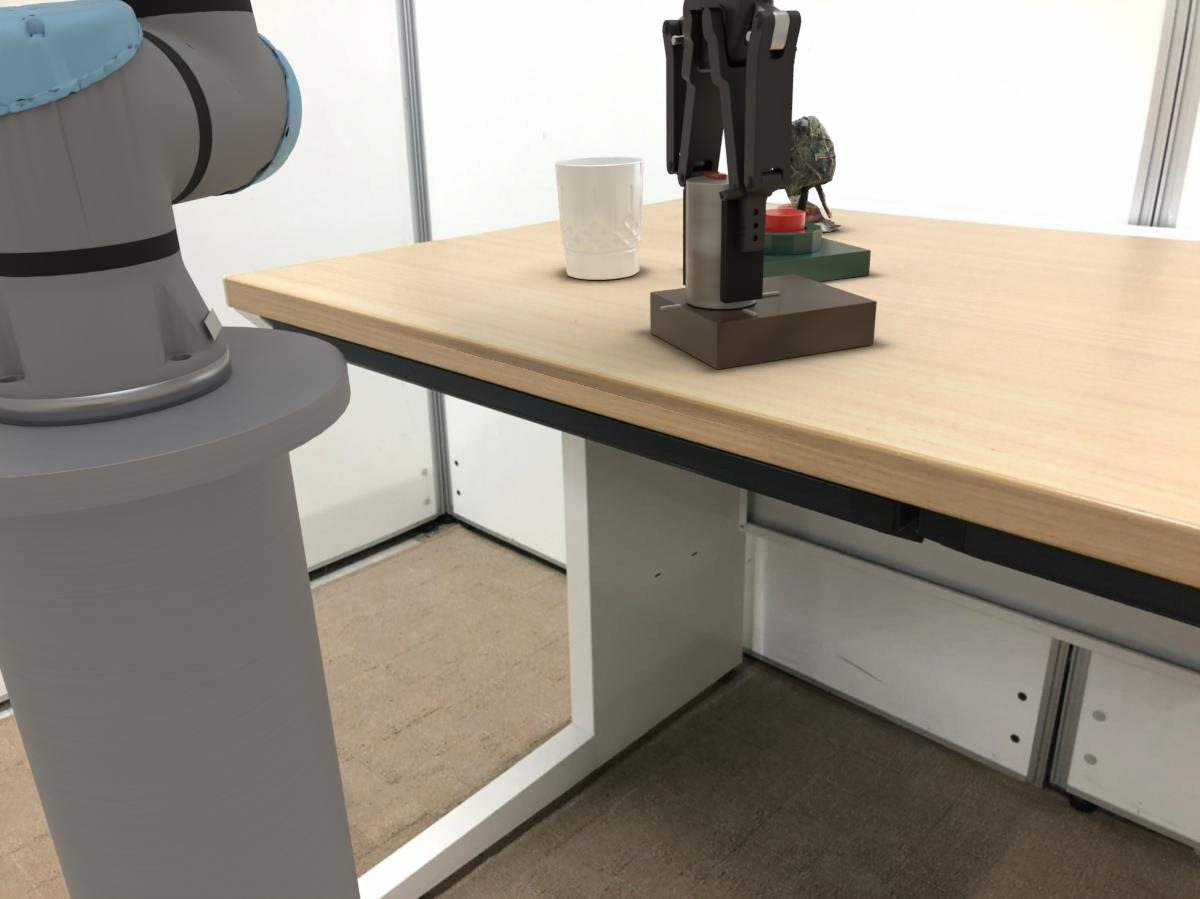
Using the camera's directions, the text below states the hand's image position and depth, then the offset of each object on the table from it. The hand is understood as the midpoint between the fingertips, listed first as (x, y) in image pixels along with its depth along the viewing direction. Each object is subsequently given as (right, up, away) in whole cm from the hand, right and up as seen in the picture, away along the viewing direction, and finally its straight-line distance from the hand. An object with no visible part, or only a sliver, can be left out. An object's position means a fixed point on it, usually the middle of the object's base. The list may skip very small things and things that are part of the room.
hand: (721, 290), depth 66 cm
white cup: (-8, +5, +25) cm, 26 cm away
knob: (0, -1, 0) cm, 1 cm away
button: (+8, +9, +21) cm, 24 cm away
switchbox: (+8, +5, +22) cm, 24 cm away
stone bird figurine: (+14, +13, +43) cm, 47 cm away
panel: (+3, -3, +2) cm, 5 cm away
